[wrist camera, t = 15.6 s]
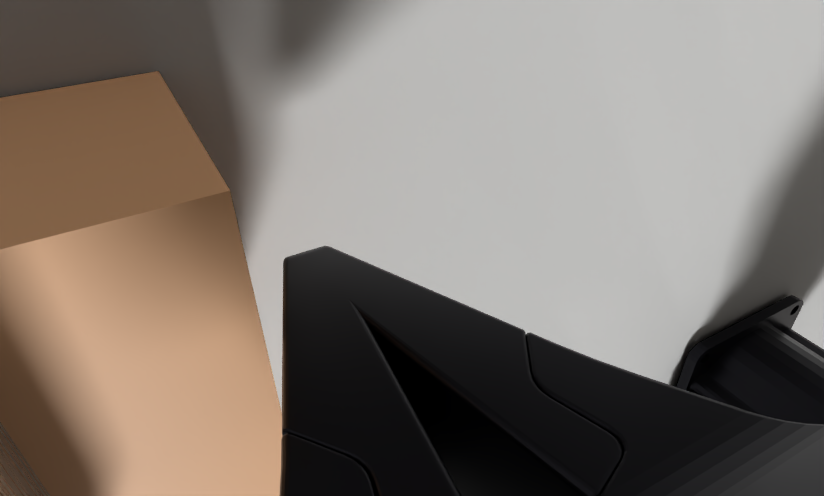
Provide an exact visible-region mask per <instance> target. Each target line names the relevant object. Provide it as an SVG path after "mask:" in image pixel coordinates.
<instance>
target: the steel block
mask: <svg viewBox="0 0 824 496" xmlns="http://www.w3.org/2000/svg"><path fill="white" fill-rule="evenodd" d="M0 496H50V495H49V493H48V492H47V490H46V489H45V487H44V486H43V484H42V483H41V481H40V480H39V478H38V477H37V475H36V474H35V472H34V471H33V469H32V468H31V466H30V465H29V463H28V462H27V460H26V459H25V458H24V456H23V455H22V453H21V452H20V450H19V449H18V447H17V446H16V444H15V443H14V441H13V440H12V438H11V437H10V435H9V434H8V432H7V431H6V429H5V428H4V426H3V425H2V423H1V422H0Z"/></svg>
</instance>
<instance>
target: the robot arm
mask: <svg viewBox="0 0 824 496" xmlns="http://www.w3.org/2000/svg"><path fill="white" fill-rule="evenodd" d="M802 305H803V301H802V300H800V299H799V298H797V297H795V296H793V295H791V296H788V297H786V298H785V299H783V300H781V301H779V302H777V303H775V304H773V305H771V306H769V307H767V308H765V309H763V310H761V311H760V312H758V313H756V314H754V315H752V316H750V317H748V318H746V319H744V320H742V321H740V322H738V323H736V324H735V325H733V326H731V327H729V328H727V329H725V330H723V331H721V332H719V333H717V334H715V335H713V336H712V337H710V338H708V339H706V340H704V341H702V342H700V343H698V344H697V345H696V346H695V347H694V348H693V349H692V350H691V351H690V352H689V354H688V356H687V359H686V362H685V364H684V367H683V370H682V373H681V375H680V378H679V381H678V384H677V387H674V386H671V385H668V384H665V383H662V382H659V381H656V380H653V379H650V378H647V377H644V376H641V375H638V374H635V373H632V372H630V371H627V370H624V369H621V368H618V367H615V366H613V365H610V364H607V363H604V362H601V361H599V360H596V359H593V358H591V357H588V356H586V355H583V354H581V353H578V352H576V351H573V350H571V349H568V348H566V347H563V346H561V345H558V344H556V343H553V342H551V341H549V340H546V339H544V338H542V337H539V336H537V335H535V334H532V333H527V334H525V331H524V330H523V329H520V328H518V327H516V326H513V325H511V324H509V323H506V322H504V321H502V320H499V319H497V318H495V317H492V316H490V315H488V314H485V313H483V312H481V311H478V310H476V309H474V308H471V307H469V306H467V305H464V304H462V303H460V302H457V301H455V300H453V299H450V298H448V297H446V296H443V295H441V294H439V293H436V292H434V291H432V290H429V289H427V288H425V287H422V286H420V285H418V284H415V283H413V282H411V281H408V280H406V279H404V278H401V277H399V276H397V275H394V274H392V273H390V272H387V271H385V270H383V269H380V268H378V267H376V266H373V265H371V264H369V263H366V262H364V261H362V260H359V259H357V258H355V257H352V256H350V255H348V254H346V253H343V252H341V251H339V250H336V249H334V248H332V247H329V246H322V247H319V248H316V249H312V250H309V251H306V252H302V253H299V254H296V255H292V256H289V257H286V258H285V259H284V262H283V355H282V439H281V477H280V496H824V350H823V349H822V348H820V347H819V346H817V345H815V344H814V343H812V342H811V341H809V340H807V339H806V338H804V337H803V336H801V335H800V334H798V333H796V332H795V331H793V330H792V329H791V328H792V326H793V324H794V322H795V320H796V318H797V316H798V314H799V311H800V309H801V307H802Z"/></svg>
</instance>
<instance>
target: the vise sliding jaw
mask: <svg viewBox="0 0 824 496" xmlns="http://www.w3.org/2000/svg"><path fill="white" fill-rule="evenodd" d="M0 422H1V423H2V425H3V426H4V428H5V429H6V431H7V432H8V434H9V435H10V437H11V438H12V440H13V441H14V443H15V444H16V446H17V447H18V449H19V450H20V452H21V453H22V455H23V456H24V458H25V459H26V460H27V462H28V463H29V465H30V466H31V468H32V469H33V471H34V472H35V474H36V475H37V477H38V478H39V480H40V481H41V483H42V484H43V486H44V487H45V489H46V490H47V492H48V493H49V495H50V496H280V477H281V439H282V412H281V408H280V404H279V399H278V395H277V391H276V387H275V382H274V378H273V374H272V369H271V365H270V361H269V356H268V352H267V348H266V343H265V339H264V335H263V330H262V326H261V322H260V317H259V313H258V309H257V305H256V300H255V296H254V292H253V287H252V283H251V279H250V274H249V270H248V266H247V261H246V257H245V253H244V248H243V244H242V240H241V235H240V231H239V227H238V222H237V218H236V214H235V210H234V205H233V201H232V197H231V192H230V190H229V188H228V186H227V185H226V183H225V181H224V180H223V178H222V176H221V175H220V173H219V171H218V170H217V168H216V166H215V165H214V163H213V161H212V160H211V158H210V156H209V155H208V153H207V151H206V150H205V148H204V146H203V145H202V143H201V141H200V140H199V138H198V136H197V135H196V133H195V131H194V130H193V128H192V126H191V125H190V123H189V121H188V120H187V118H186V116H185V115H184V113H183V111H182V110H181V108H180V106H179V105H178V103H177V101H176V100H175V98H174V96H173V95H172V93H171V91H170V90H169V88H168V86H167V85H166V83H165V81H164V80H163V78H162V76H161V75H160V73H159V71H156V72H150V73H144V74H138V75H132V76H126V77H120V78H114V79H108V80H102V81H96V82H90V83H85V84H79V85H73V86H67V87H61V88H55V89H49V90H43V91H37V92H31V93H25V94H19V95H13V96H7V97H1V98H0Z"/></svg>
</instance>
